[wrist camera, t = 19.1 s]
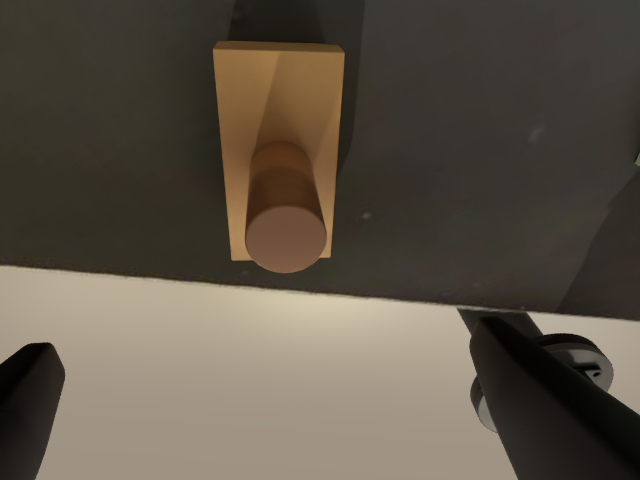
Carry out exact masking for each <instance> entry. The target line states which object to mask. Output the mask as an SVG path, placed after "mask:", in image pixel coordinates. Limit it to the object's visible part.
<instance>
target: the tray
mask: <svg viewBox="0 0 640 480" xmlns="http://www.w3.org/2000/svg"><path fill="white" fill-rule="evenodd" d="M635 164H637V165H639V166H640V153H639V155H638V157H637V159H636V162H635Z"/></svg>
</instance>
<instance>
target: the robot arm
mask: <svg viewBox="0 0 640 480" xmlns="http://www.w3.org/2000/svg"><path fill="white" fill-rule="evenodd" d="M469 346H470V347H469V348H470V353H471V356H472V360H473V363H474V366H475V369H476V372H477V376H478V379H479V382H480V385H481V388H482V391H483V394H484V398H485V401H486V404H487V407H488V410H489V413H490V416H491V418H492V421H493V423H494V425H495V428H496V430H497V432H498V435H499V437H500V439H501V441H502V444H503V446H504V448H505V451H506V453H507V455H508V457H509V460H510V462H511V464H512V467H513V469H514V471H515V474H516V476H517V478H518V480H640V415H639V414H637V413H636V412H634V411H633V410H632V409H630V408H629V407H627V406H626V405H624V404H623V403H621V402H620V401H619V400H617V399H616V398H614V397H613V396H611V395H610V394H608V393H607V392H606V391H604V390H603V389H601V388H600V387H599V386H597V385H596V384H597V382H598V381H599V379H600V378H601V376H602V374H603V370H602V369H601V368H600V367H599V366H596V365H595V366H581V367H570V366H568V365H567V364H566V363H564V362H563V361H561V360H560V359H558V358H557V357H556V356H554V355H553V354H551V353H550V352H548V351H547V350H545V349H544V348H543V347H541V346H540V345H538V344H537V343H535V342H534V341H533V340H531V339H530V338H528V337H527V336H525V335H524V334H523V333H521V332H520V331H518V330H517V329H515V328H514V327H512V326H511V325H510V324H508V323H507V322H505V321H504V320H502V319H501V318H499V317H497V316H488V317H480V318H479V319H478V320H477V321H476V324H475V327H474V330H473V333H472V337H471V340H470V345H469ZM64 381H65V369H64V367H63V365H62V362H61V360H60V358H59V356H58V354H57V352H56V350H55V348H54V346H53V345H52V344H51V343H48V342H47V343H31V344H27V345H26V346H24V347H22V348H21V349H20V350H18V351H17V352H16V353H15V354H13V355H12V356H11V357H9V358H8V359H7V360H5V361H4V362H3V363H1V364H0V480H35V479H36V475H37V473H38V471H39V468H40V465H41V462H42V460H43V457H44V454H45V451H46V447H47V444H48V441H49V437H50V433H51V429H52V426H53V422H54V418H55V414H56V411H57V407H58V403H59V399H60V396H61V392H62V388H63V384H64Z"/></svg>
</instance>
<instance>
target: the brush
mask: <svg viewBox="0 0 640 480" xmlns="http://www.w3.org/2000/svg"><path fill="white" fill-rule="evenodd" d="M344 57H345V53H344V52H343V50H342V49H341V48H340V47H339V46H338V45H327V44H317V43H285V42H252V41H227V42H225V41H218V42H217V43H216V45H215V46H214V48H213V59H214V71H215V82H216V93H217V104H218V115H219V126H220V137H221V148H222V159H223V171H224V182H225V193H226V204H227V215H228V226H229V237H230V248H231V259H232V260H254V261H255V262H256V263H257V264H258V265H260V266H261V267H263V268H265V269H267V270H270V271H273V272H279V273H292V272H297V271H300V270H303V269H305V268H307V267H309V266H310V265H312V264H313V263H315V262H316V261H317V260H318V259H319V258H330V255H331V241H332V227H333V213H334V199H335V185H336V170H337V156H338V142H339V128H340V114H341V100H342V86H343V72H344Z"/></svg>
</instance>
